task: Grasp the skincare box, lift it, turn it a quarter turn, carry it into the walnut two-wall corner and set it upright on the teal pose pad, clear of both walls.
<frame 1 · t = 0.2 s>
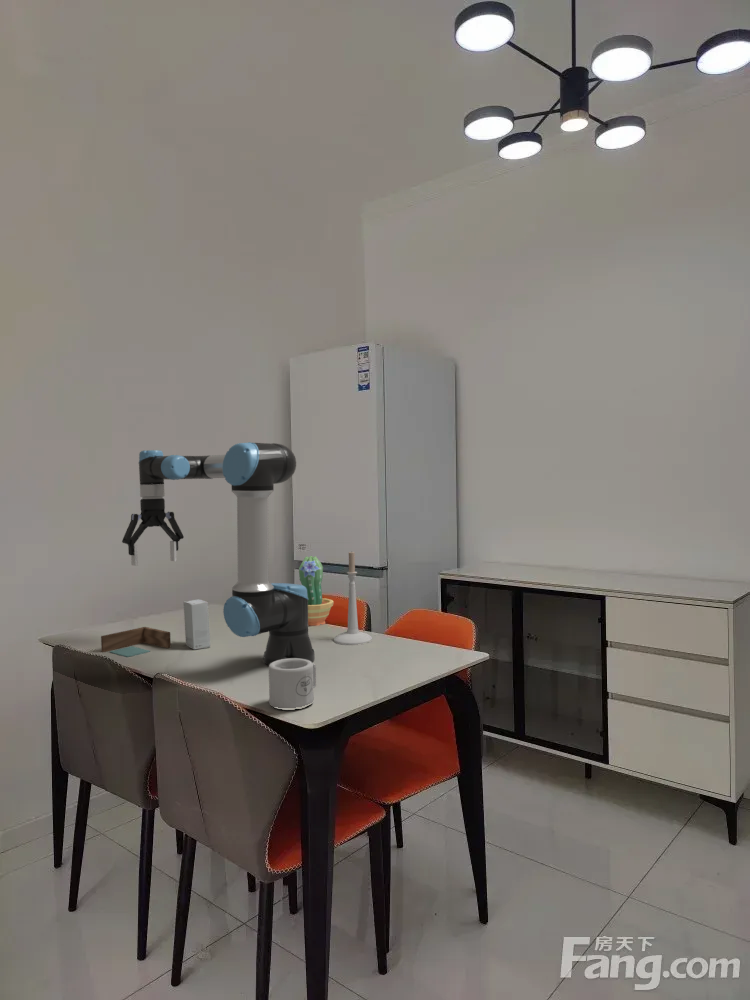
hand: (154, 563, 226), 27 cm above the table, fingers open, 13 cm apart
potted cactus: (313, 623, 259), on the table
pose pad: (129, 651, 220), on the table
mug: (295, 703, 170), on the table
candlestick: (353, 640, 231), on the table
wooden corner bracket: (136, 649, 223), on the table
skincare box: (197, 646, 226), on the table
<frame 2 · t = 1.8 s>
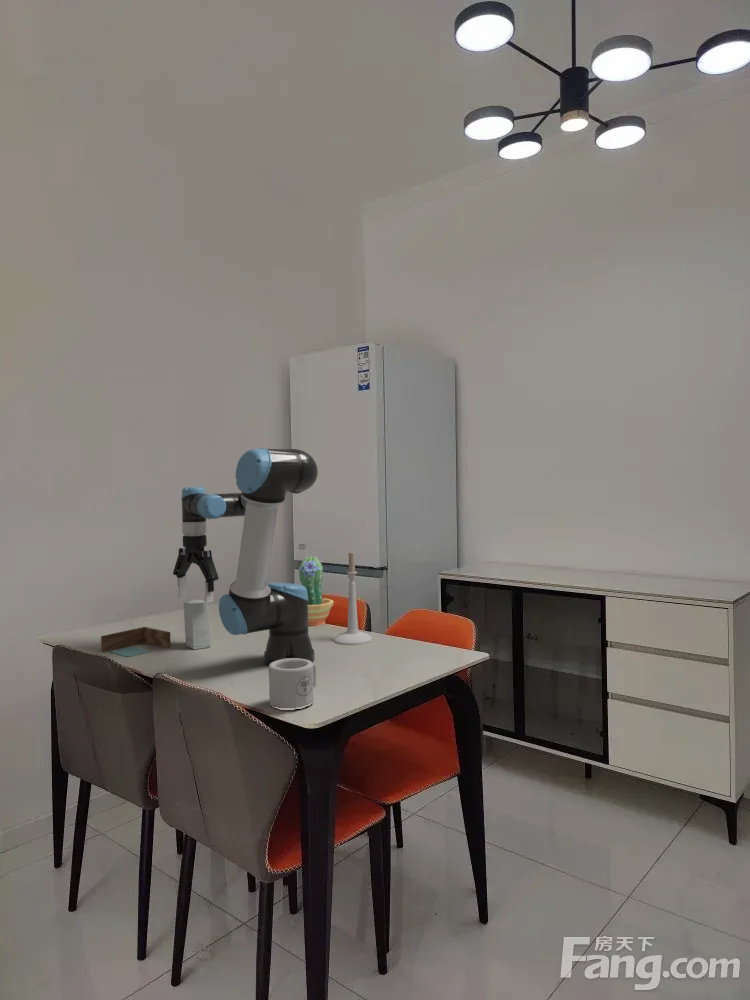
hand: (195, 599, 226), 15 cm above the table, fingers open, 13 cm apart
nothing on the table moved.
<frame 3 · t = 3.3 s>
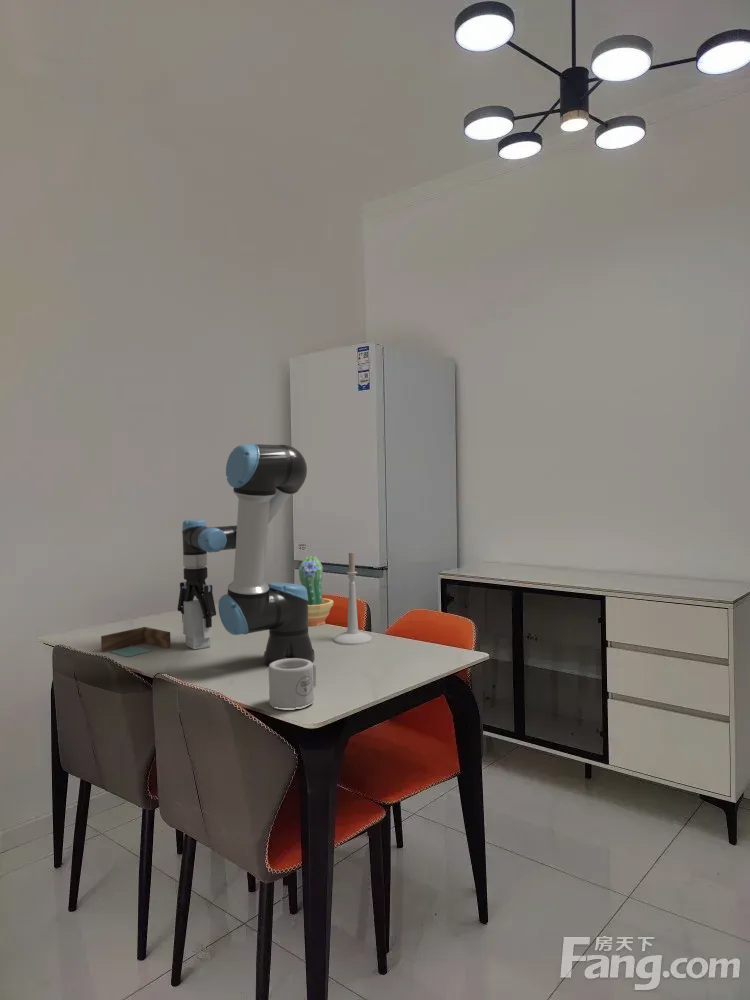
hand: (197, 635, 226), 4 cm above the table, fingers closed on skincare box, 9 cm apart
skincare box: (197, 646, 226), on the table, touching gripper
everything else where it was.
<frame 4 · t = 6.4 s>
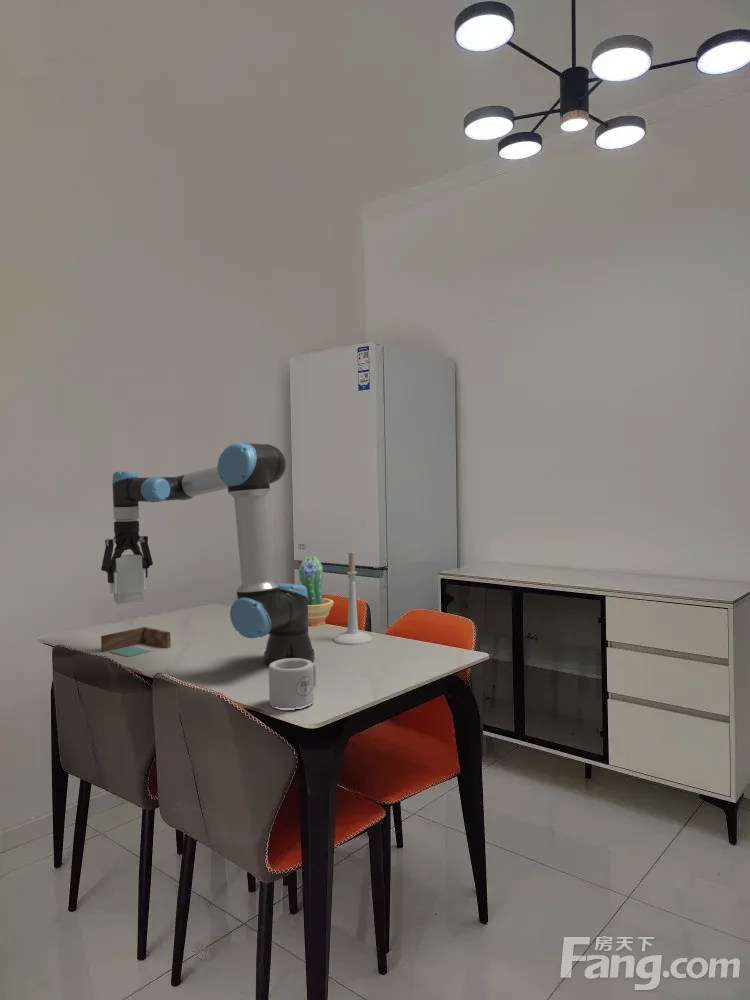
hand: (128, 590, 219), 20 cm above the table, fingers closed on skincare box, 9 cm apart
skincare box: (128, 602, 220), point 16 cm above the table, touching gripper
everything else where it was.
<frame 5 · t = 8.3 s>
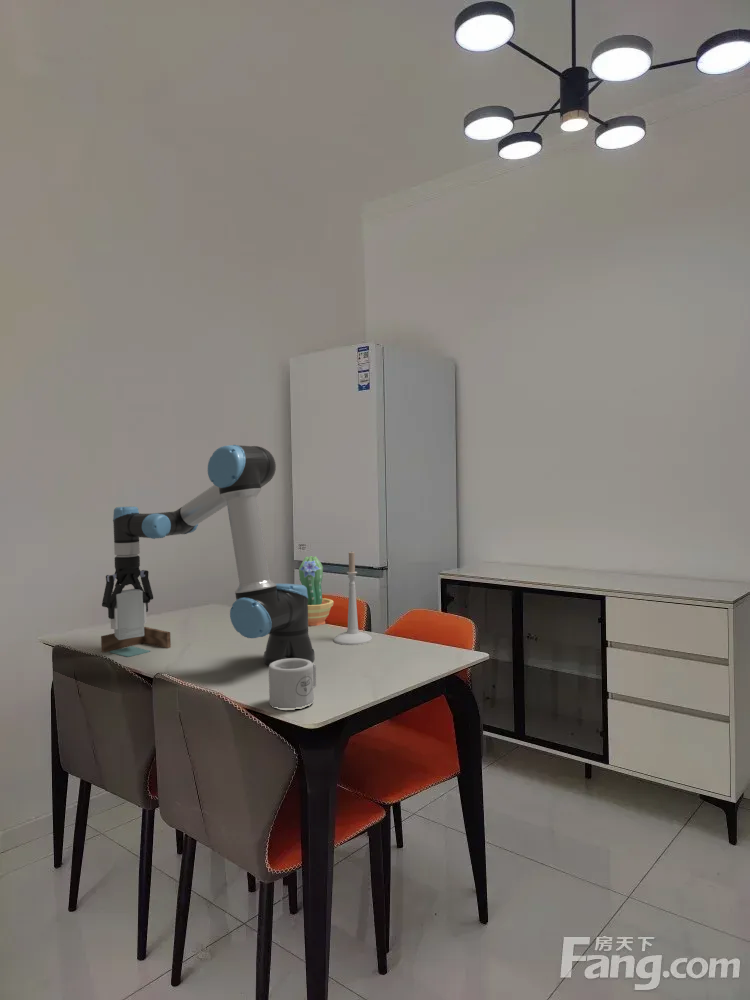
hand: (128, 625, 220), 8 cm above the table, fingers closed on skincare box, 9 cm apart
skincare box: (129, 637, 220), point 5 cm above the table, touching gripper
everything else where it was.
when the fingers open (5 cm above the table, at t = 9.6 s): skincare box drops 1 cm, resting on pose pad.
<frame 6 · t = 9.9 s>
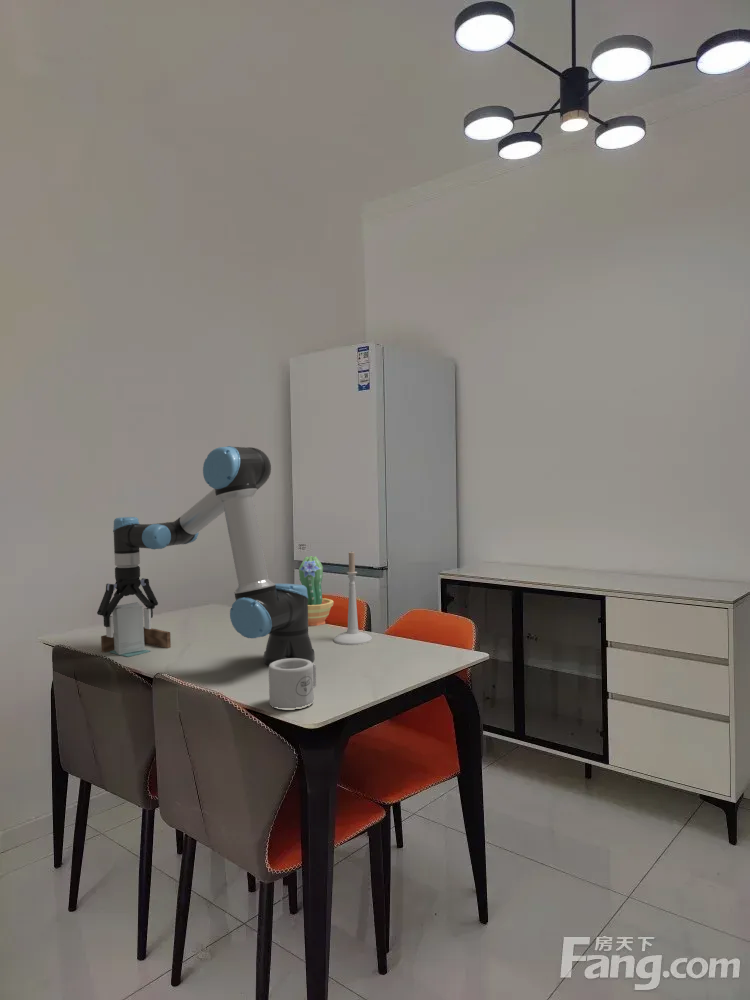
hand: (129, 632, 220), 6 cm above the table, fingers open, 13 cm apart
skincare box: (129, 651, 220), resting on pose pad
everything else where it was.
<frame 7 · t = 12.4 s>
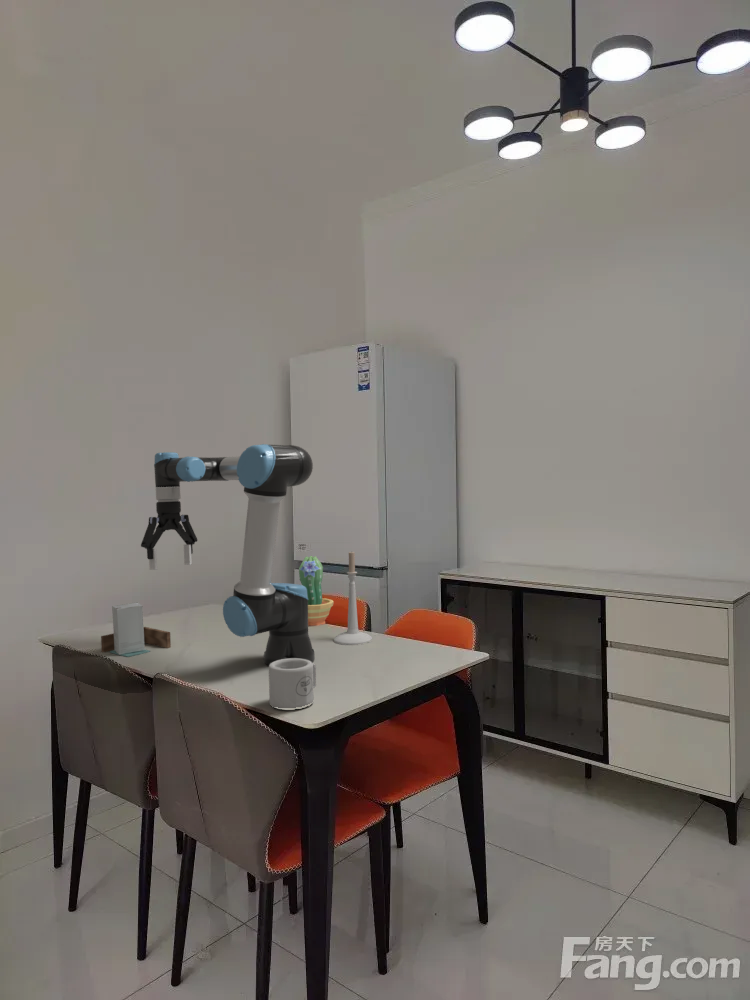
hand: (171, 567, 222), 26 cm above the table, fingers open, 13 cm apart
nothing on the table moved.
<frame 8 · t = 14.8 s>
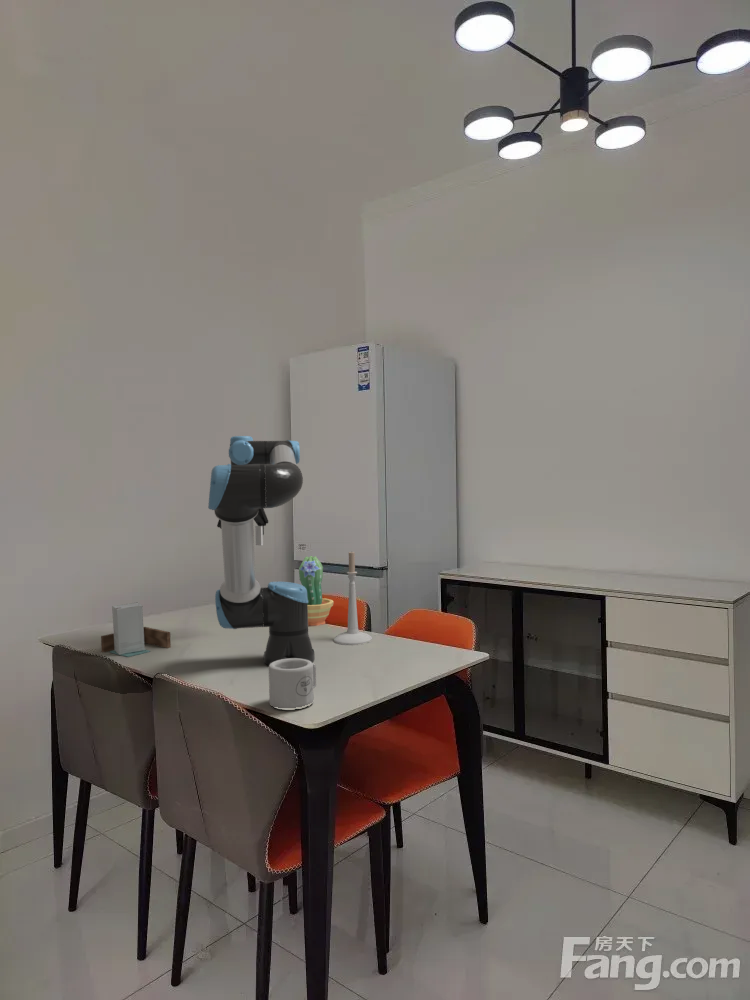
hand: (244, 547, 230), 32 cm above the table, fingers open, 13 cm apart
nothing on the table moved.
at the end: skincare box 0.3 cm off-centre on the pose pad, point 0.1 cm above the pose pad's base; skincare box tilted 0°; skincare box touching pose pad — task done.
